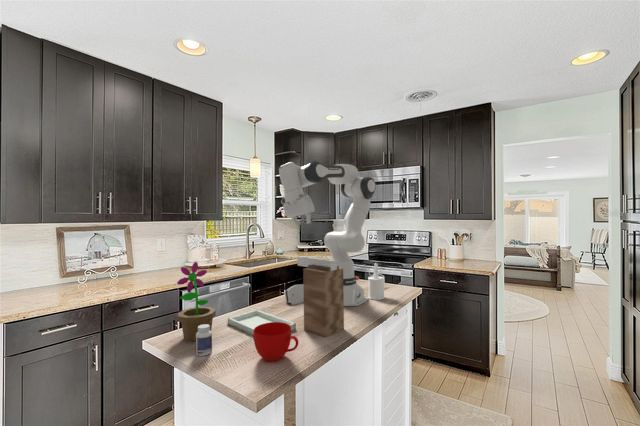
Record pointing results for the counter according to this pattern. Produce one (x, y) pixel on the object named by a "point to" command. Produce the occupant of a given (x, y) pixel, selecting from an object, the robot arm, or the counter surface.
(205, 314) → the flowerpot
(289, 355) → the counter surface
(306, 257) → the block
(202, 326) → the pill bottle
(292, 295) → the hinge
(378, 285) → the white soap dispenser
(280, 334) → the ceramic cup
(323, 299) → the ridged wooden post
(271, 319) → the tray
